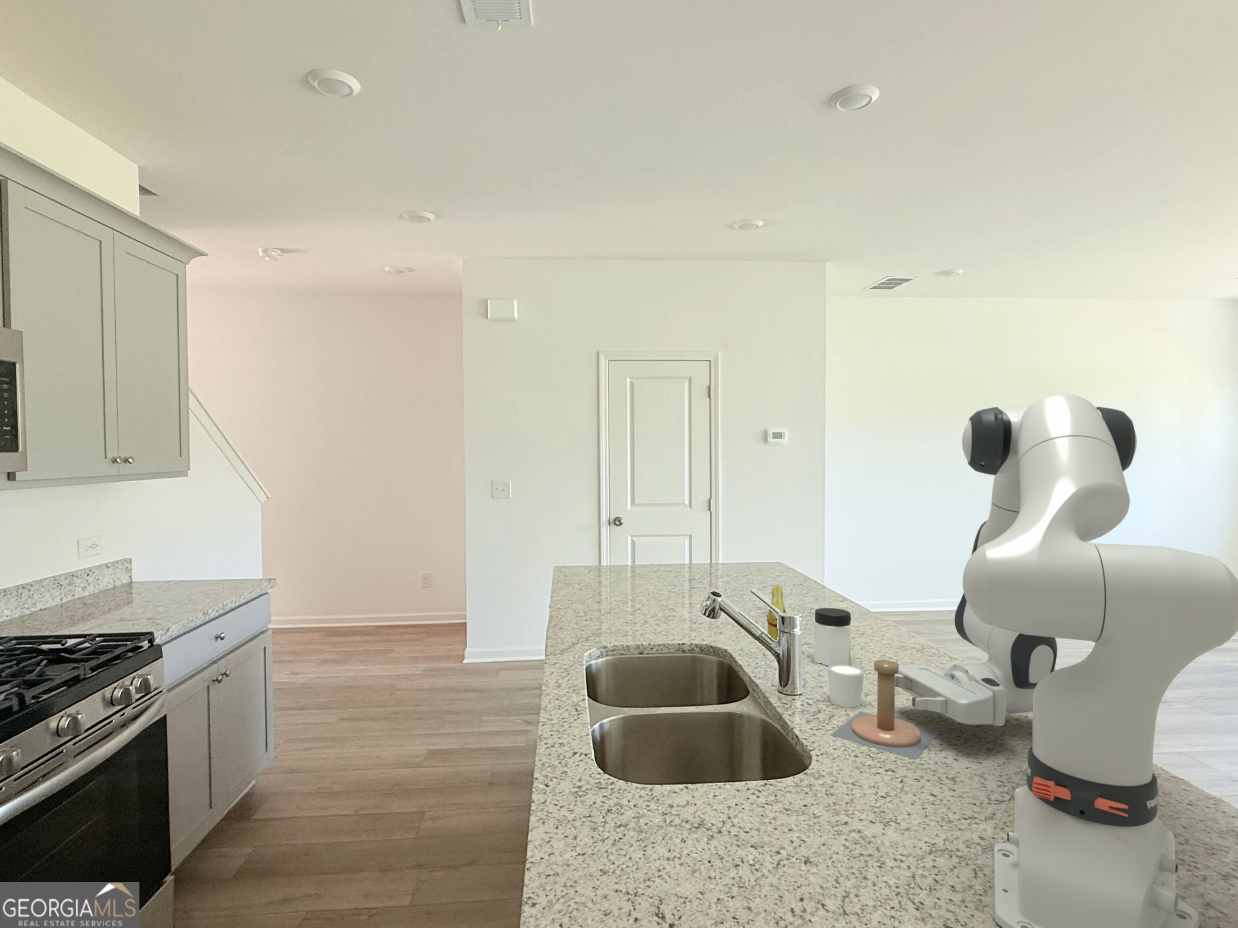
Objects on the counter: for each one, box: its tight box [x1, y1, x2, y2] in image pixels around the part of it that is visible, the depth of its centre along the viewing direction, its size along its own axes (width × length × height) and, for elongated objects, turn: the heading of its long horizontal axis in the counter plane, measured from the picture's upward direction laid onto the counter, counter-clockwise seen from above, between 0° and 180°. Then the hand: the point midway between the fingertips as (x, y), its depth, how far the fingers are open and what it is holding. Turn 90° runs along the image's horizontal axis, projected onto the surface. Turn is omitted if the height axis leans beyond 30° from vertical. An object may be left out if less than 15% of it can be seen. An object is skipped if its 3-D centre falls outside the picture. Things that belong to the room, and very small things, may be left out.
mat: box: [830, 710, 941, 761], centre depth 114 cm, size 14×14×1 cm
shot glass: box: [827, 664, 865, 708], centre depth 129 cm, size 7×7×7 cm
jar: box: [813, 607, 852, 667], centre depth 156 cm, size 9×8×12 cm
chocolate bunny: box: [766, 584, 787, 640], centre depth 173 cm, size 7×11×15 cm, turn 166°
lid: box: [852, 659, 920, 747], centre depth 114 cm, size 11×11×12 cm
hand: (897, 693), depth 114 cm, fingers open, 8 cm apart
